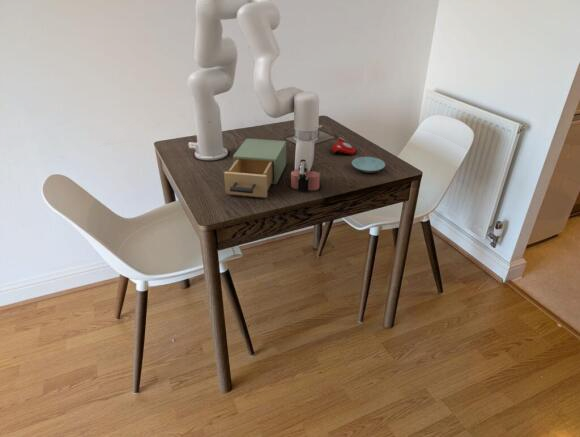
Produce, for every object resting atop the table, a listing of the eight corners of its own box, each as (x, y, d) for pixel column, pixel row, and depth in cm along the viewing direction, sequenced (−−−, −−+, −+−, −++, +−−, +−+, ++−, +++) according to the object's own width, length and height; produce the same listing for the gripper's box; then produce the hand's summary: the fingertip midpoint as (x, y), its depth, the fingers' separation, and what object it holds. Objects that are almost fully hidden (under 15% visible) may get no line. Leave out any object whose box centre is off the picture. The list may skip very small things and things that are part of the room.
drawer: (262, 205, 129) (262, 183, 125) (220, 200, 131) (218, 179, 128) (277, 176, 146) (276, 156, 142) (239, 173, 148) (238, 153, 145)
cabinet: (276, 184, 143) (275, 159, 138) (234, 180, 145) (232, 156, 141) (286, 164, 157) (286, 141, 152) (247, 161, 159) (246, 138, 154)
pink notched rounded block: (289, 188, 140) (289, 175, 138) (292, 182, 144) (292, 169, 142) (318, 190, 139) (318, 177, 136) (320, 184, 143) (320, 171, 140)
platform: (285, 138, 179) (284, 123, 176) (317, 129, 189) (317, 115, 185) (302, 147, 171) (303, 131, 168) (335, 137, 181) (336, 122, 177)
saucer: (384, 177, 148) (385, 171, 146) (350, 174, 149) (351, 168, 148) (384, 163, 158) (384, 157, 156) (351, 161, 159) (352, 155, 158)
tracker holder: (361, 150, 165) (342, 149, 160) (357, 159, 168) (338, 159, 162) (343, 134, 173) (325, 133, 167) (339, 143, 175) (321, 143, 169)
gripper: (298, 123, 140) (298, 173, 149) (288, 142, 125) (288, 196, 135) (321, 125, 139) (319, 175, 148) (313, 144, 124) (312, 198, 133)
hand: (305, 184), depth 141 cm, fingers open, 6 cm apart
